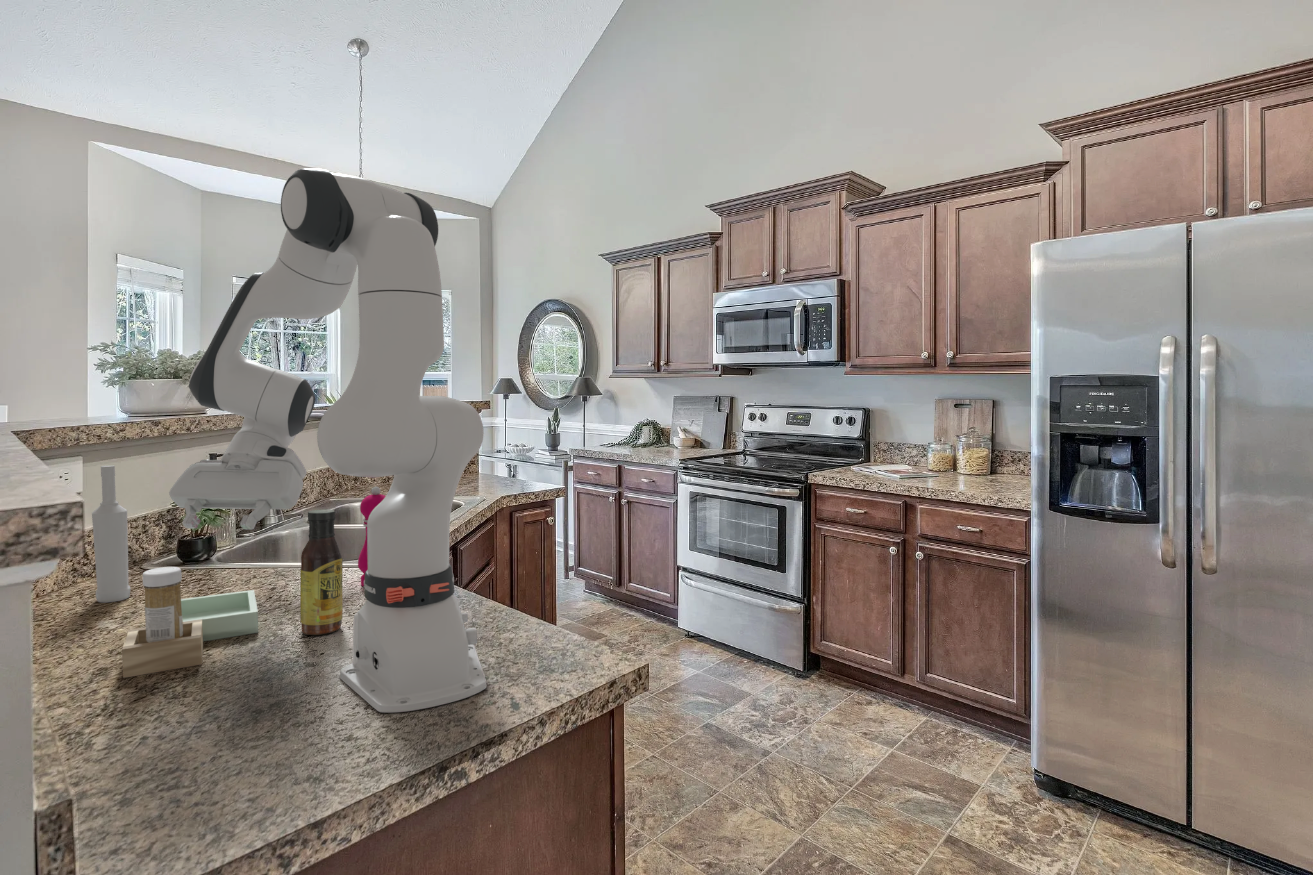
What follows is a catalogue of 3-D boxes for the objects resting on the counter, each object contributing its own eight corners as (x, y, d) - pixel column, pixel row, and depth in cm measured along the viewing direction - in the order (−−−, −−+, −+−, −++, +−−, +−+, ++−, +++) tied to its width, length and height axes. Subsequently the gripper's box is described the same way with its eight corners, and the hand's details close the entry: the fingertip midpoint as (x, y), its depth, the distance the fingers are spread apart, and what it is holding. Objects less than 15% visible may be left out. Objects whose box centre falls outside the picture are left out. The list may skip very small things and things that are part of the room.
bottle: (137, 594, 131) (132, 464, 129) (117, 602, 125) (111, 467, 124) (109, 594, 130) (104, 464, 129) (88, 602, 125) (82, 467, 123)
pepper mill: (402, 578, 143) (400, 484, 142) (387, 588, 136) (385, 489, 135) (368, 578, 144) (366, 483, 142) (351, 588, 136) (349, 488, 135)
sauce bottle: (325, 638, 109) (323, 515, 107) (291, 635, 110) (288, 513, 109) (352, 625, 115) (349, 508, 114) (319, 622, 117) (316, 507, 115)
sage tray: (258, 632, 111) (257, 611, 111) (151, 649, 104) (151, 626, 103) (254, 608, 123) (253, 589, 123) (158, 622, 115) (157, 602, 115)
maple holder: (201, 664, 98) (201, 637, 98) (123, 677, 93) (121, 649, 93) (203, 644, 106) (202, 619, 106) (130, 655, 101) (129, 629, 101)
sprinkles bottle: (191, 654, 102) (188, 565, 101) (170, 666, 97) (166, 574, 96) (160, 653, 102) (157, 565, 101) (138, 666, 97) (134, 573, 96)
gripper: (184, 448, 118) (143, 514, 108) (302, 450, 117) (270, 516, 108) (203, 471, 122) (165, 536, 113) (316, 472, 122) (286, 538, 113)
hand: (217, 527), depth 111 cm, fingers open, 8 cm apart
